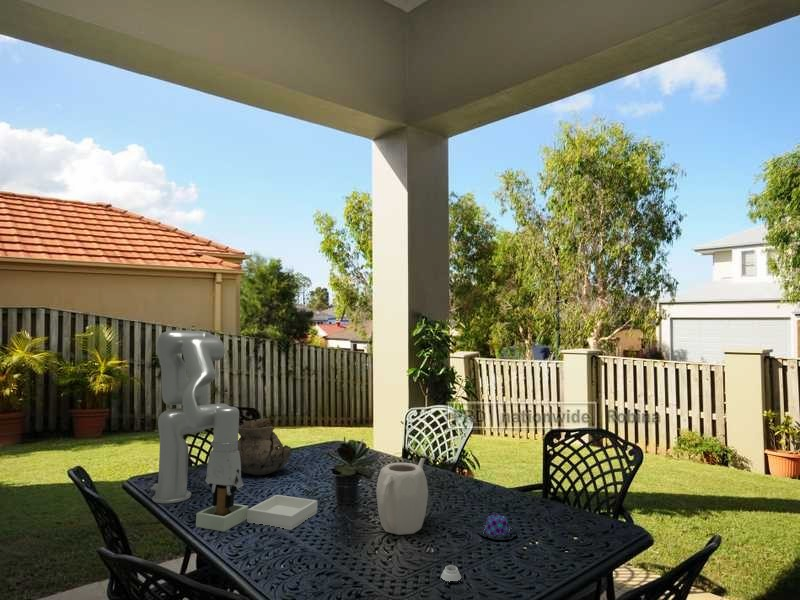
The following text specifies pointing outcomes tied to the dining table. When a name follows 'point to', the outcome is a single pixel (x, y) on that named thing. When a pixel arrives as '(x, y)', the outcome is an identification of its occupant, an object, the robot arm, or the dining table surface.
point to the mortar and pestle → (221, 501)
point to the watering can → (402, 497)
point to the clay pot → (261, 448)
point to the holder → (221, 518)
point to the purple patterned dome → (497, 525)
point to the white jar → (451, 574)
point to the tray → (282, 511)
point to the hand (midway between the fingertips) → (223, 505)
